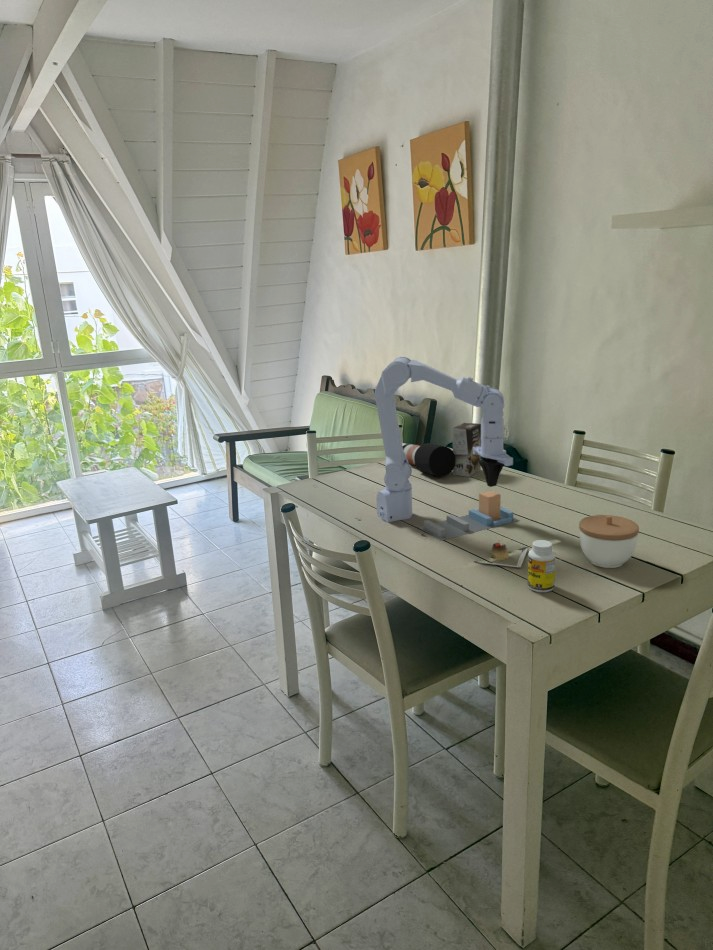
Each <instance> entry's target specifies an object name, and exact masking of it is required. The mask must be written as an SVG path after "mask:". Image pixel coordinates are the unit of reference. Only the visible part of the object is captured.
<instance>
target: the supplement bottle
mask: <svg viewBox="0 0 713 950" xmlns="http://www.w3.org/2000/svg"><path fill="white" fill-rule="evenodd" d="M527 553H528V555H527V559H528V560H527V587H528V589H529V590H531V591H534V592H536V593H549V592H551V591H552V590H553V591H554V589H555V582H556V580H555V579H556V578H555V577H556V561H557V560H556V557H557V555H556V553H555V551H554V550H553V543H552V542H551V541H548V540H545V539H544V540H543V539H538V540H534V541H533V542H532V547H531V549H530V550H529V551H528V552H527Z"/></svg>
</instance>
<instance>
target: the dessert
mask: <svg viewBox="0 0 713 950" xmlns="http://www.w3.org/2000/svg"><path fill="white" fill-rule="evenodd" d="M506 545H507V544H505V541H504V540H502V539H499V540H498V542H495V543H493V544H492V547H491V549H490V554H491V555H492V556H490V559H493V560H498V561H501V560H502V561H503V560H506V559H508V558H510V557H509V556H510V555H509V552H508V548H507V546H506ZM516 550H518V551H521V553H520V555H519V558H518V561H517V564H516V565H512V564H511V565H510V564H504V563H503V564H502V563H494V562H485V561H478V560H476V561H473V563H476V564H477V563H478V564H483V565H484V564H486V565H493V566H499V567H500V566H501V567H508V568H521V567H522V565H523V562H524V560H525V557H526V555H527V553H528V550H529V546H526V547H522V548H518V549H516Z"/></svg>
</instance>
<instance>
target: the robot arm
mask: <svg viewBox="0 0 713 950" xmlns="http://www.w3.org/2000/svg"><path fill="white" fill-rule="evenodd" d="M409 379H410V383H415V382H420V381H424V382H428V383H430V384H433V385H435V386H438V387H439V388H443V389H445V390H447V391H450V392H452V394H453V397H454V398H455V399H458V400H460V401H461V402H463V403H466V404H469V405H471V406H473V407H476V408H478V407H479V408H481V411H482V412H481V414H482V415H481V417H482V418H481V419H480V420H481V421H480V422H481V423H480V424H481V447H480V446H477V447H473V454H474V455H480V456H481V458H482V459H481V460H479V464H480V465H481V469H482V471H483V474H484V478H485V481H486V485H487V487H489V488H490V487H496V486H498V485H497V484H498V482H499V477H500V474H501V472H502V470H503V469H504V466H505V467H510V466H513V465H514V457H512V456H510V455H509V454H507V450H506V449H504V431H505V430H504V427H505V426H504V425H505V423H504V422H505V419H504V408H505V397H504V394H503V392H502V391H500V390H499V389H497V387H491V386H490V385H484V384H482V383H478V382H476V381H474V378H473V377H472V376H468V377H465V376H464V377H463V376H462V377H460V378H455V377H452V376H450V375H448V374H446V373H445V372H442V371H440V370H438V369H436V368H433V367H432V366H429V365H428V364H425V363H423V362H421V361H418V360H415V359H410V358H409V357H407V356H399V357H396V358H395V359H394V360H393V361H392V362H390V363H389V364H388V365H387V366H386V367H385V368H384V369H383V370H382V372H381V374H380V378H379V380H378V382H377V384H376V386H375V389H374V400H375V404H376V409H377V414H378V415H377V416H378V421H379V425H380V431H381V436H382V437H381V438H382V442H383V448H384V449H383V450H384V454H385V465H384V468H385V474H384V478H383V480H384V484H385V488H384V489H381V490H380V491H378V492H377V494H376V514H377V515H376V516H377V517H378V518H379V519H381V520H383V521H384V522H386V523H391V522H396V521H402V520H403V521H404V520H408V519H411V518H412V517H413V491H412V489H413V485H412V484H411V482H410V480H409V479H410V478H411V476H412V472H413V471H412V470H413V469H412V466H411V463H409V462H407V459H406V455H405V453H404V451H403V446H402V443H403V441H402V434H401V430H400V425H399V417H398V413H397V408H396V401H395V396H394V395H395V393H397V391H398V389H399V388H400V387H402V386H404V385H405V384H406V383H408V380H409Z"/></svg>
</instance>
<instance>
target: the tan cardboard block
mask: <svg viewBox="0 0 713 950" xmlns="http://www.w3.org/2000/svg"><path fill="white" fill-rule="evenodd" d="M500 507H501V494H500V493H497V492H495V491H493V490H489V491H484V492H479V493H478V509H479V512H481V513H483V514H485V515H487V516H489V517H491V518H492V521H495V520H499V519H500Z"/></svg>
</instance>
